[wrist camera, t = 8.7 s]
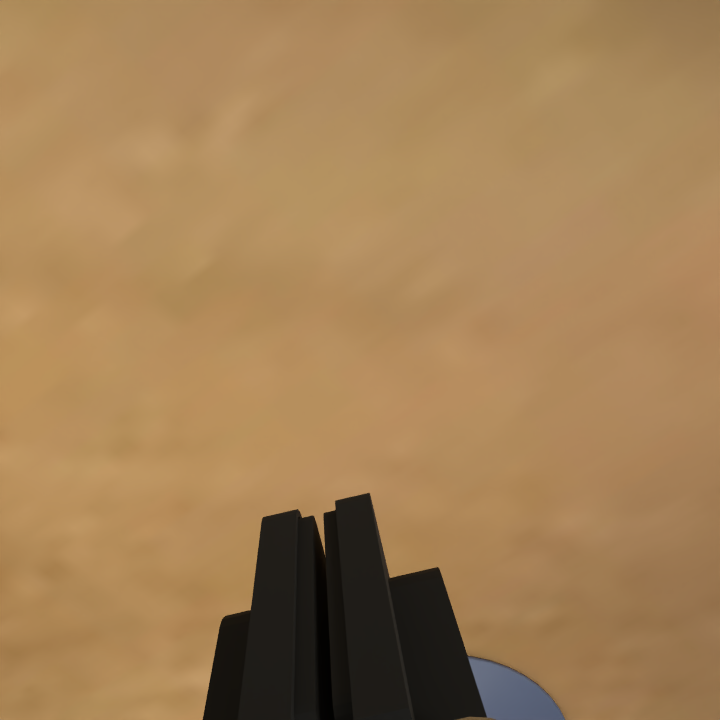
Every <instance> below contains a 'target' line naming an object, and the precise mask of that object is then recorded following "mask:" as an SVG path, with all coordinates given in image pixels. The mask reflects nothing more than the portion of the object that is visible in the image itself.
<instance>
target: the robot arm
mask: <svg viewBox="0 0 720 720" xmlns="http://www.w3.org/2000/svg"><path fill="white" fill-rule="evenodd" d="M335 506H336V510H335V511H331V512H326V513H324V535H325V554H324V550H323V546H322V542H321V539H320V535H319V531H318V528H317V524H316V521H315V518H314V516H309V517H304V518H302V517H301V514H300V511H299V510H298V509H297V510H292V511H288V512H284V513H279V514H275V515H271V516H266V517H263V518H262V523H261V532H260V540H259V548H258V556H257V565H256V573H255V581H254V589H253V598H252V606H251V610H249V611H245V612H241V613H236V614H232V615H228V616H225V617H224V618H223V619H222V621H221V625H220V628H219V634H218V639H217V645H216V650H215V656H214V661H213V667H212V672H211V678H210V683H209V689H208V694H207V700H206V705H205V710H204V716H203V720H496V719H493V718H487V715H486V712H485V709H484V706H483V703H482V700H481V697H480V693H479V690H478V687H477V684H476V681H475V678H474V675H473V672H472V669H471V665H470V662H469V659H468V656H467V653H466V650H465V647H464V644H463V641H462V637H461V634H460V631H459V628H458V625H457V622H456V619H455V616H454V613H453V609H452V606H451V603H450V600H449V597H448V594H447V591H446V588H445V585H444V581H443V578H442V575H441V572H440V570H439V568H438V567H436V568H432V569H428V570H423V571H419V572H415V573H410V574H406V575H402V576H397V577H393V578H390V577H389V573H388V569H387V565H386V560H385V556H384V552H383V547H382V543H381V539H380V535H379V530H378V526H377V522H376V518H375V513H374V509H373V505H372V500H371V496H370V493H367V494H362V495H358V496H354V497H349V498H345V499H341V500H336V501H335ZM325 556H326V557H325Z"/></svg>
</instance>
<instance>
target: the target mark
mask: <svg viewBox="0 0 720 720" xmlns="http://www.w3.org/2000/svg"><path fill="white" fill-rule="evenodd" d="M468 659H469V662H470V665H471V669H472V672H473V675H474V678H475V681H476V684H477V687H478V690H479V693H480V697H481V700H482V703H483V706H484V709H485V712H486V715H487V718H493V719H496V720H565V718H564V717H563V715H562V713H561V711H560V709H559V707H558V706H557V705H556V703H555V702H554V701H553V699H552V698H551V697H550V696H549V695H548V694H547V693H546V692H545V691H544V690H543V689H542V688H541V687H540V686H539V685H538V684H536V683H535V682H534V681H532V680H531V679H529V678H528V677H526V676H525V675H523V674H521V673H519V672H517V671H515V670H513V669H511V668H509V667H507V666H504V665H502V664H499V663H496V662H493V661H490V660H486V659H481V658H476V657H472V656H468Z"/></svg>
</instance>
